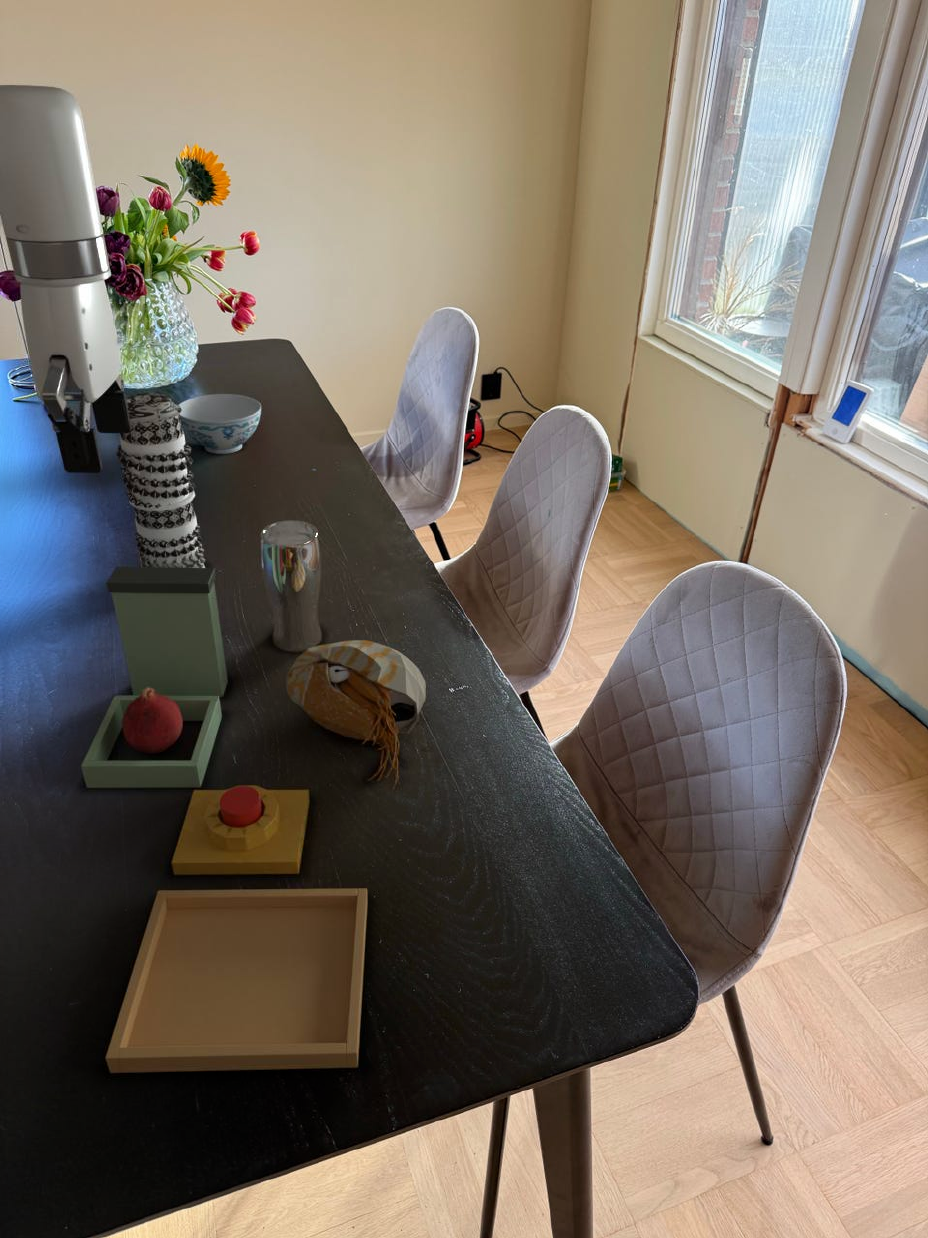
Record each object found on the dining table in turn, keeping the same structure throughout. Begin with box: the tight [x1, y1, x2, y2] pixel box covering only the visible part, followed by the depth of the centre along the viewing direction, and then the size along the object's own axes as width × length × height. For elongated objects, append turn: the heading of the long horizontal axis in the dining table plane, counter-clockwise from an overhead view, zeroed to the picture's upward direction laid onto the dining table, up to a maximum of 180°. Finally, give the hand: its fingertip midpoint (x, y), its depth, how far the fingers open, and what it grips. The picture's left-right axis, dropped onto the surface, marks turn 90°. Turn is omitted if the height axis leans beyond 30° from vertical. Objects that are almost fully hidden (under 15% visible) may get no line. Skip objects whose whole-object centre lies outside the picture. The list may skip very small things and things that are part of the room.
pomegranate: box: [122, 687, 184, 754], centre depth 87 cm, size 6×6×8 cm
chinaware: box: [177, 393, 262, 455], centre depth 157 cm, size 15×15×8 cm
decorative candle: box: [116, 392, 206, 568], centre depth 113 cm, size 9×9×25 cm
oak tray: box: [105, 888, 368, 1074], centre depth 67 cm, size 18×15×2 cm
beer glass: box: [260, 520, 323, 653], centre depth 104 cm, size 7×7×15 cm
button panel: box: [171, 785, 310, 876], centre depth 79 cm, size 11×9×4 cm
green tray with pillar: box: [80, 566, 229, 789], centre depth 88 cm, size 11×18×15 cm, turn 3°
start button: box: [220, 785, 262, 828], centre depth 78 cm, size 4×4×2 cm
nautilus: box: [285, 639, 427, 790], centre depth 91 cm, size 8×22×15 cm
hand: (100, 450), depth 81 cm, fingers open, 9 cm apart
